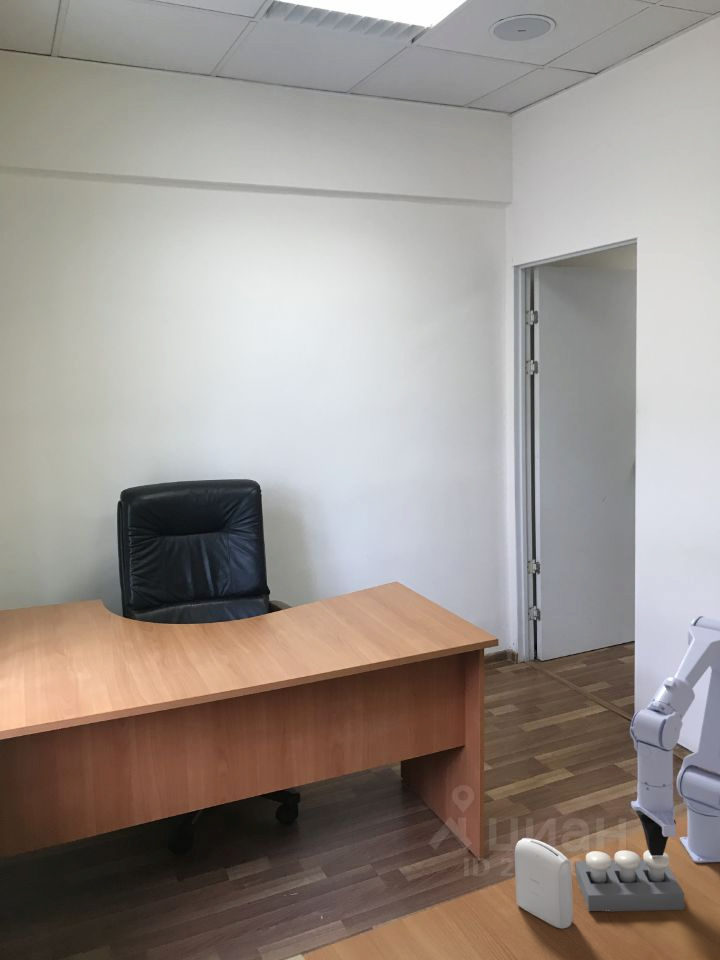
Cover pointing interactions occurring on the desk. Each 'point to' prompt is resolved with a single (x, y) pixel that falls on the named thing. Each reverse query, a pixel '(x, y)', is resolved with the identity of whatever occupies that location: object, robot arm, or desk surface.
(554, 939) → the desk surface
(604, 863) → the knob
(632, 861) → the knob middle
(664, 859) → the knob
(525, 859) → the photo printer
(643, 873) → the mount
